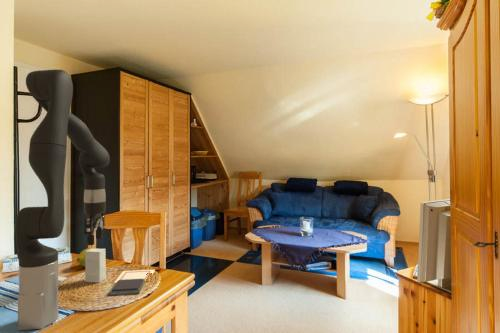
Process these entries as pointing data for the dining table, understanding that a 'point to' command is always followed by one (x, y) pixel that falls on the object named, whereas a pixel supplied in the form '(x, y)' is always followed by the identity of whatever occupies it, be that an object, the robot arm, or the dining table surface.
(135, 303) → the dining table surface
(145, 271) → the paper sheet
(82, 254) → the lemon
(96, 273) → the skincare box
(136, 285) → the pad
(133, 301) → the dining table surface
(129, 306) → the dining table surface
